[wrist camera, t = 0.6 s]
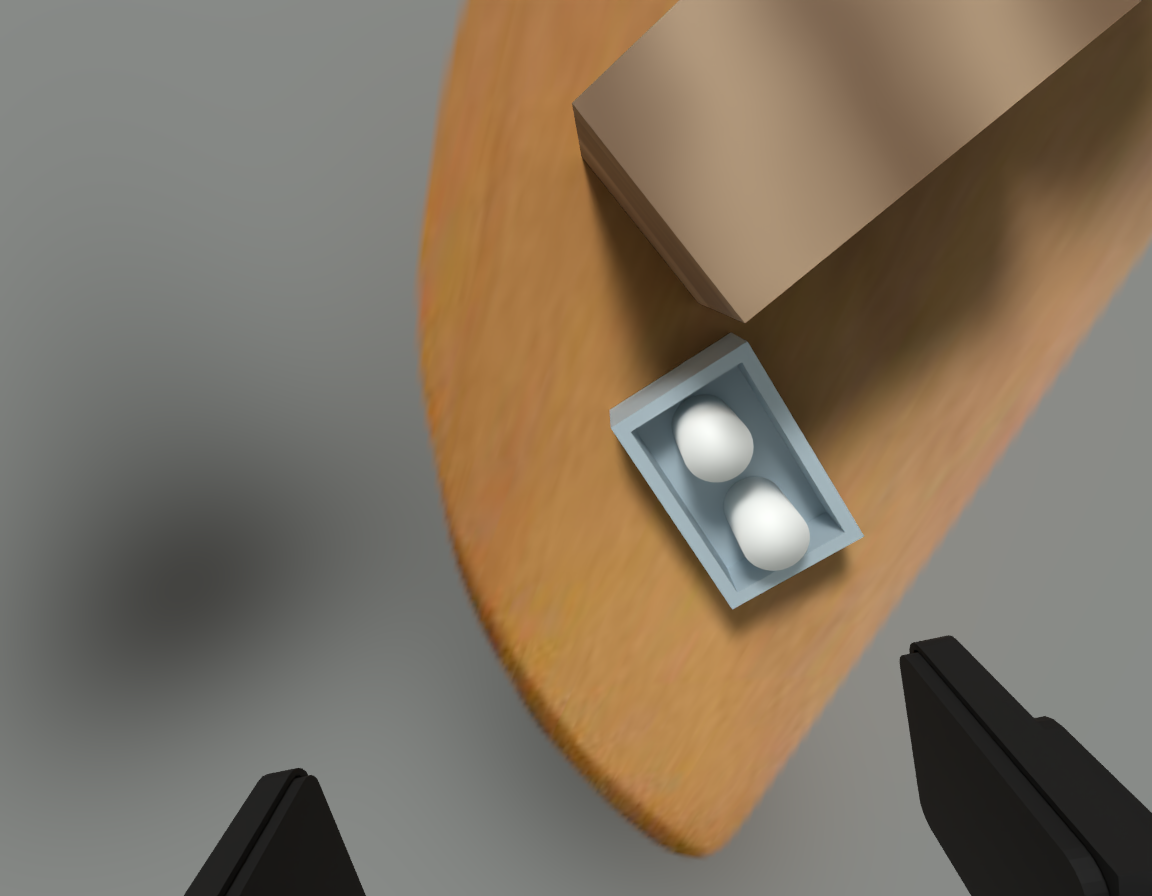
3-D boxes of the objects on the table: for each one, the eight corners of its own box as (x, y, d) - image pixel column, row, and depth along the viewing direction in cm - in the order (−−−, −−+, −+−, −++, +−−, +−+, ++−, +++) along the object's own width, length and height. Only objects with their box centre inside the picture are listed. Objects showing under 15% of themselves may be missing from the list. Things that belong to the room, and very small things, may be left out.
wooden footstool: (871, -114, 25) (1036, -342, 16) (985, 63, 27) (1199, -47, 17) (581, 156, 28) (572, 103, 19) (698, 303, 30) (745, 323, 20)
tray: (731, 332, 30) (755, 346, 25) (836, 507, 32) (878, 550, 27) (609, 409, 31) (611, 437, 26) (719, 574, 33) (739, 627, 29)
